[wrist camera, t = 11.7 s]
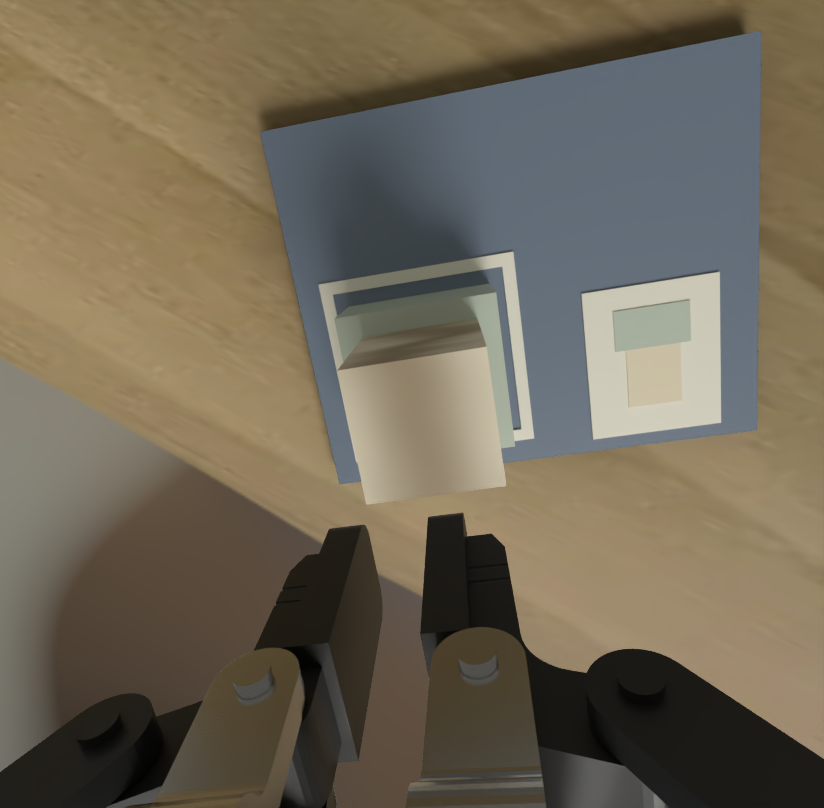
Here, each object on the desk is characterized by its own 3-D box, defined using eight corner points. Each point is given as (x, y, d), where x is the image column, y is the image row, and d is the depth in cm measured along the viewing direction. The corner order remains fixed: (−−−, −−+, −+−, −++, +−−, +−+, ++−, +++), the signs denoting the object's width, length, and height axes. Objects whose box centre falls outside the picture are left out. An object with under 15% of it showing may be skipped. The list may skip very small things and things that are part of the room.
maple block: (477, 318, 24) (486, 346, 18) (493, 427, 25) (506, 486, 20) (362, 337, 24) (337, 370, 19) (384, 443, 26) (366, 504, 20)
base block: (489, 283, 27) (496, 292, 23) (506, 418, 29) (515, 446, 25) (349, 306, 28) (334, 318, 24) (375, 436, 30) (364, 466, 26)
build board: (746, 39, 25) (763, 29, 23) (745, 422, 30) (758, 431, 28) (268, 135, 27) (259, 131, 26) (343, 475, 32) (339, 485, 31)
